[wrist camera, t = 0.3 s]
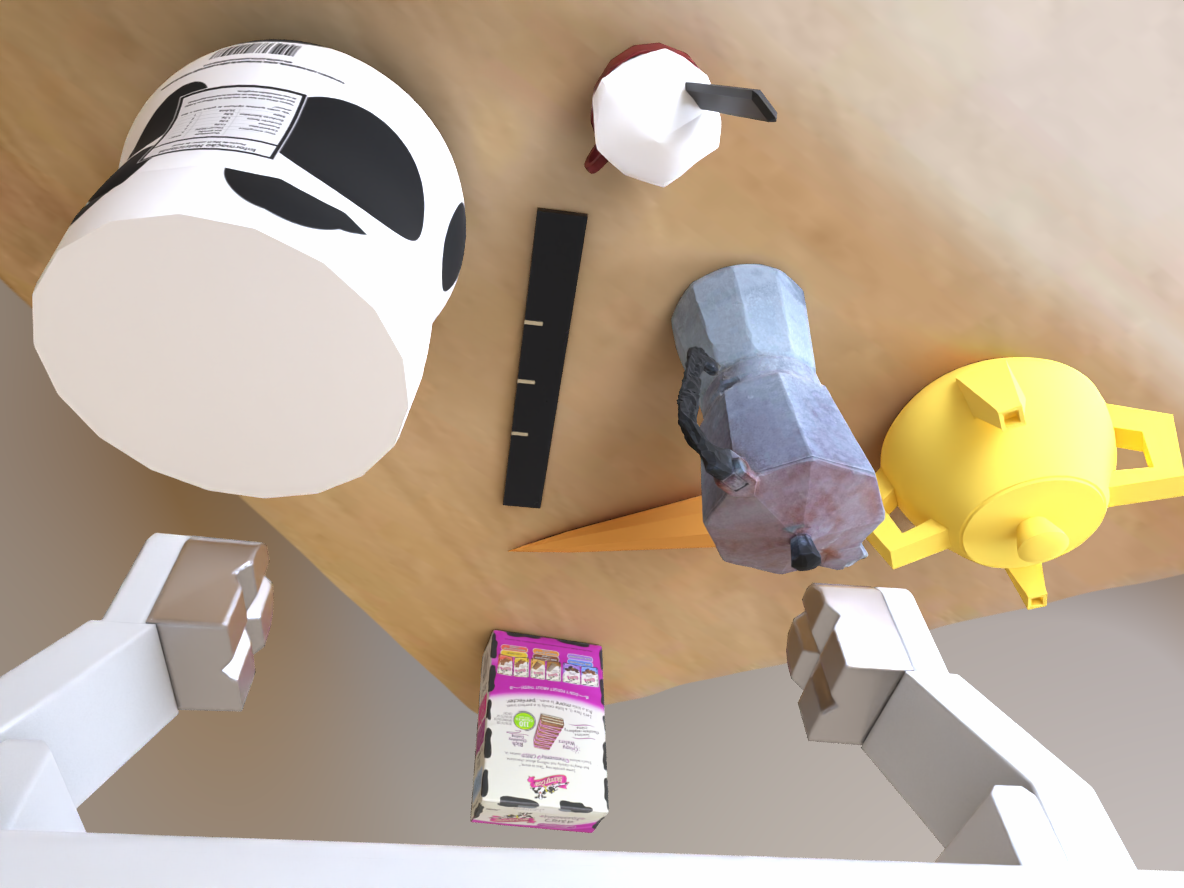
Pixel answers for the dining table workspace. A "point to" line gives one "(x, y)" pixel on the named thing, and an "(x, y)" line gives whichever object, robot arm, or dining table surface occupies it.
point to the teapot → (1015, 467)
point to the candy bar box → (540, 735)
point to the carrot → (635, 532)
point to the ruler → (543, 351)
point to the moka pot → (768, 428)
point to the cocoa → (662, 113)
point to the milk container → (258, 273)
